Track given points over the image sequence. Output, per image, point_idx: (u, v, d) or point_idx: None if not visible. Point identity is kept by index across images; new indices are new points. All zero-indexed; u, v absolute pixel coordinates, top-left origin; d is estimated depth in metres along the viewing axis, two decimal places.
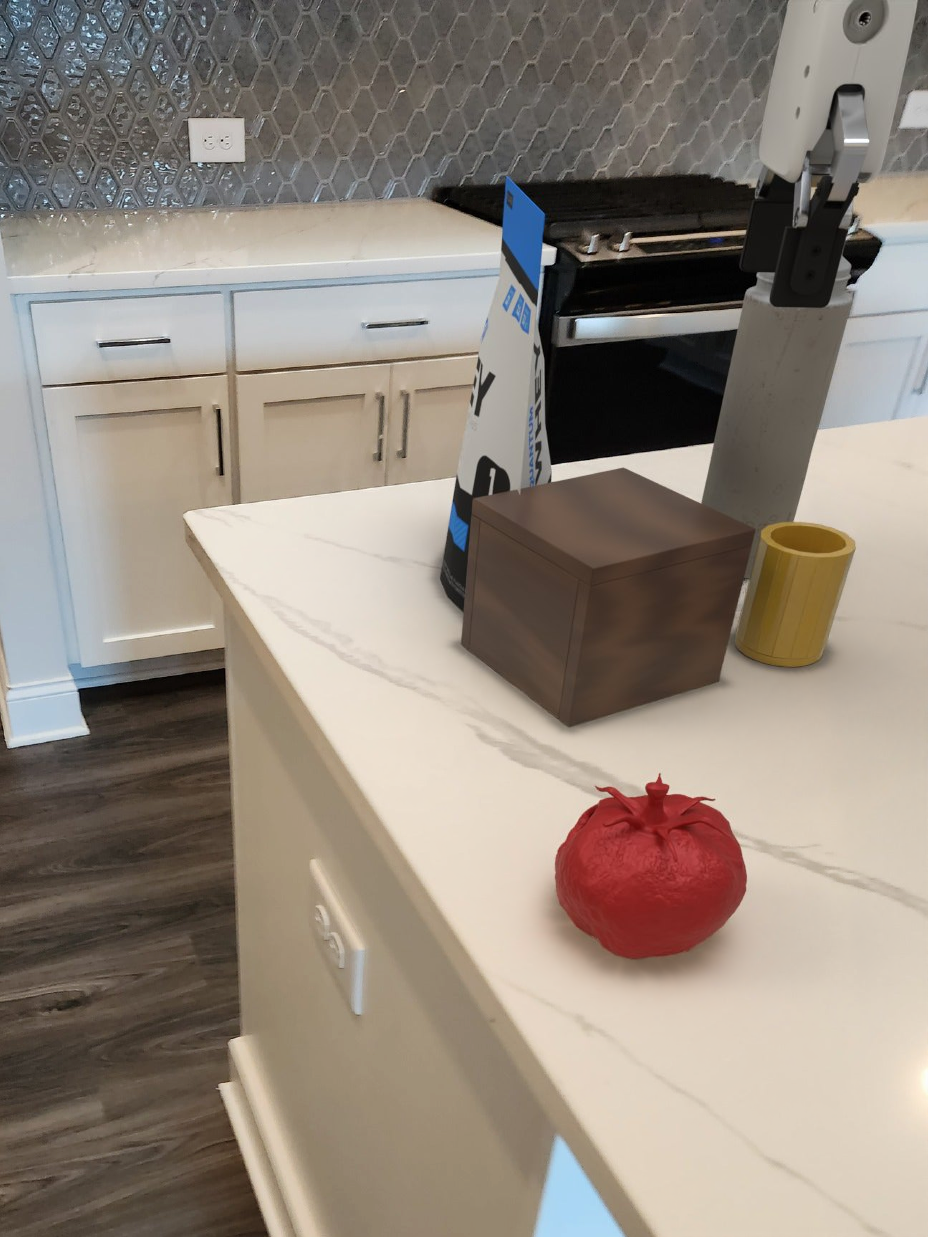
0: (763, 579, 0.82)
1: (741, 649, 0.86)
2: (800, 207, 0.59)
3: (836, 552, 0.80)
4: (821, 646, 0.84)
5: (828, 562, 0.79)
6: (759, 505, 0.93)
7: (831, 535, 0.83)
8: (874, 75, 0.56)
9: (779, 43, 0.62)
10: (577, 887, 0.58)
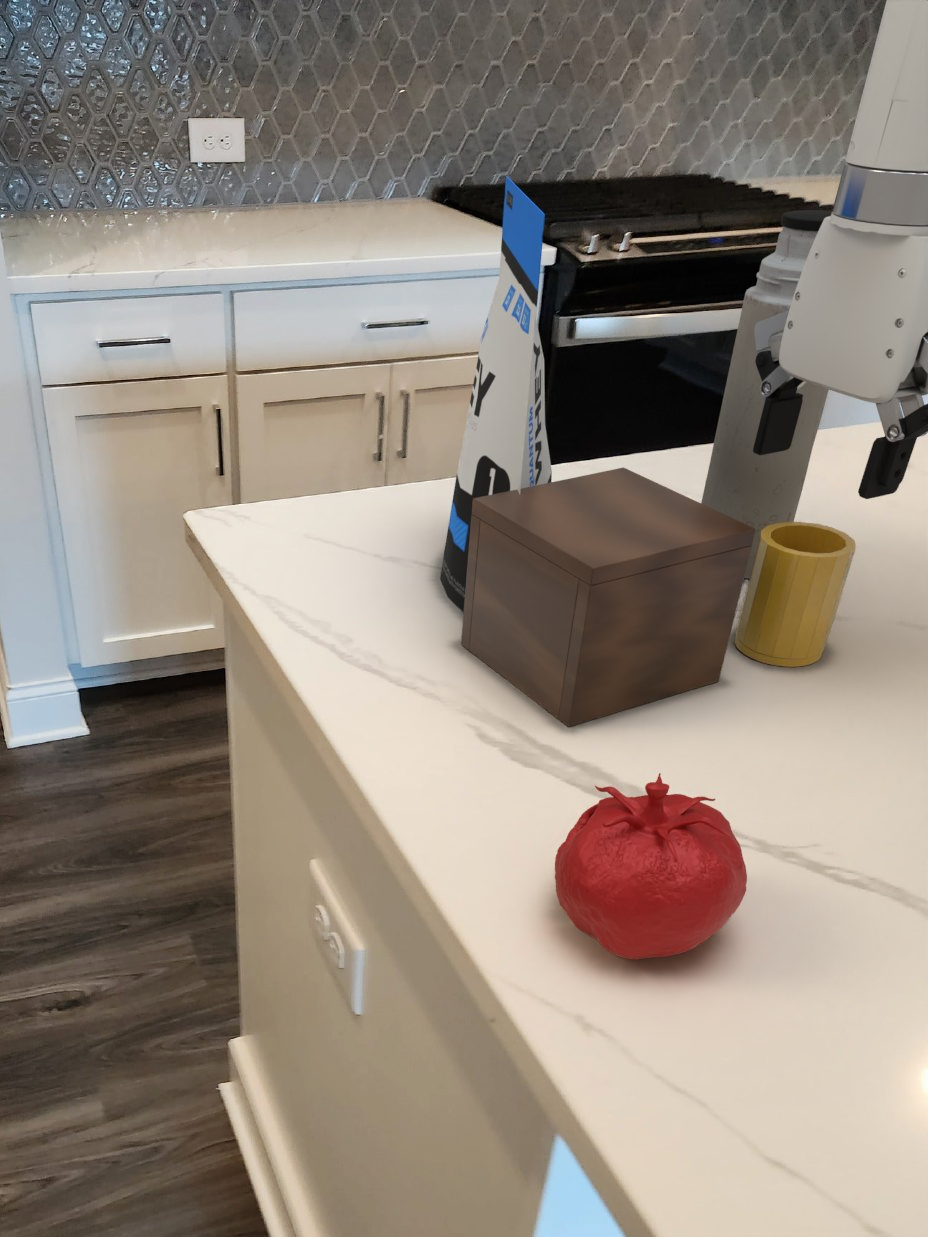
0: (763, 579, 0.82)
1: (741, 649, 0.86)
2: (899, 426, 0.71)
3: (836, 552, 0.80)
4: (821, 646, 0.84)
5: (828, 562, 0.79)
6: (759, 505, 0.93)
7: (831, 535, 0.83)
8: None
9: (808, 283, 0.73)
10: (577, 887, 0.58)
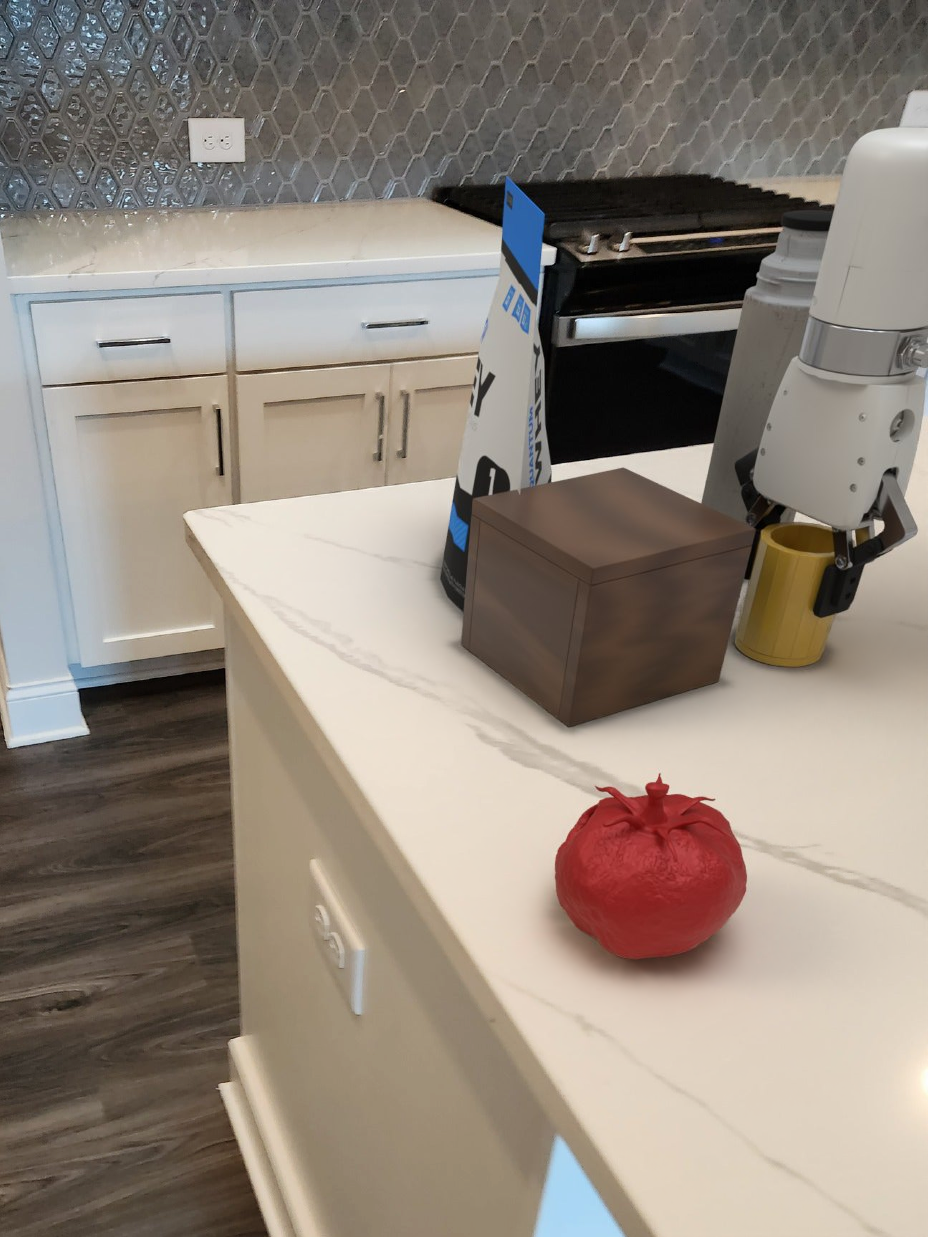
0: (763, 579, 0.82)
1: (741, 649, 0.86)
2: (848, 558, 0.78)
3: None
4: (821, 646, 0.84)
5: (828, 562, 0.79)
6: None
7: (831, 535, 0.83)
8: (904, 459, 0.74)
9: (778, 416, 0.78)
10: (577, 887, 0.58)
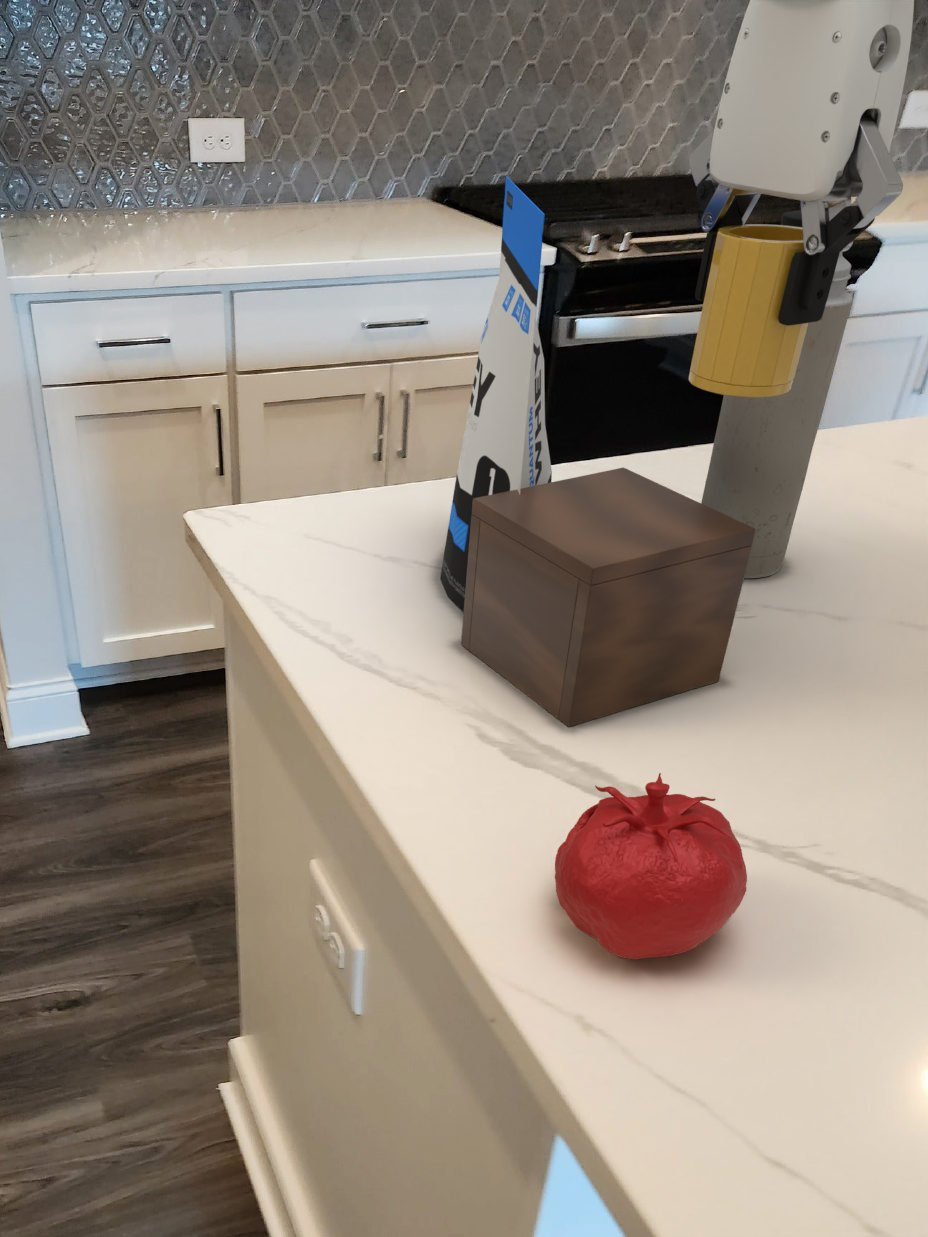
0: (720, 283, 0.69)
1: (696, 382, 0.73)
2: (820, 237, 0.64)
3: None
4: (789, 372, 0.71)
5: (796, 250, 0.66)
6: (759, 505, 0.93)
7: (801, 234, 0.70)
8: (887, 100, 0.61)
9: (738, 70, 0.65)
10: (577, 887, 0.58)
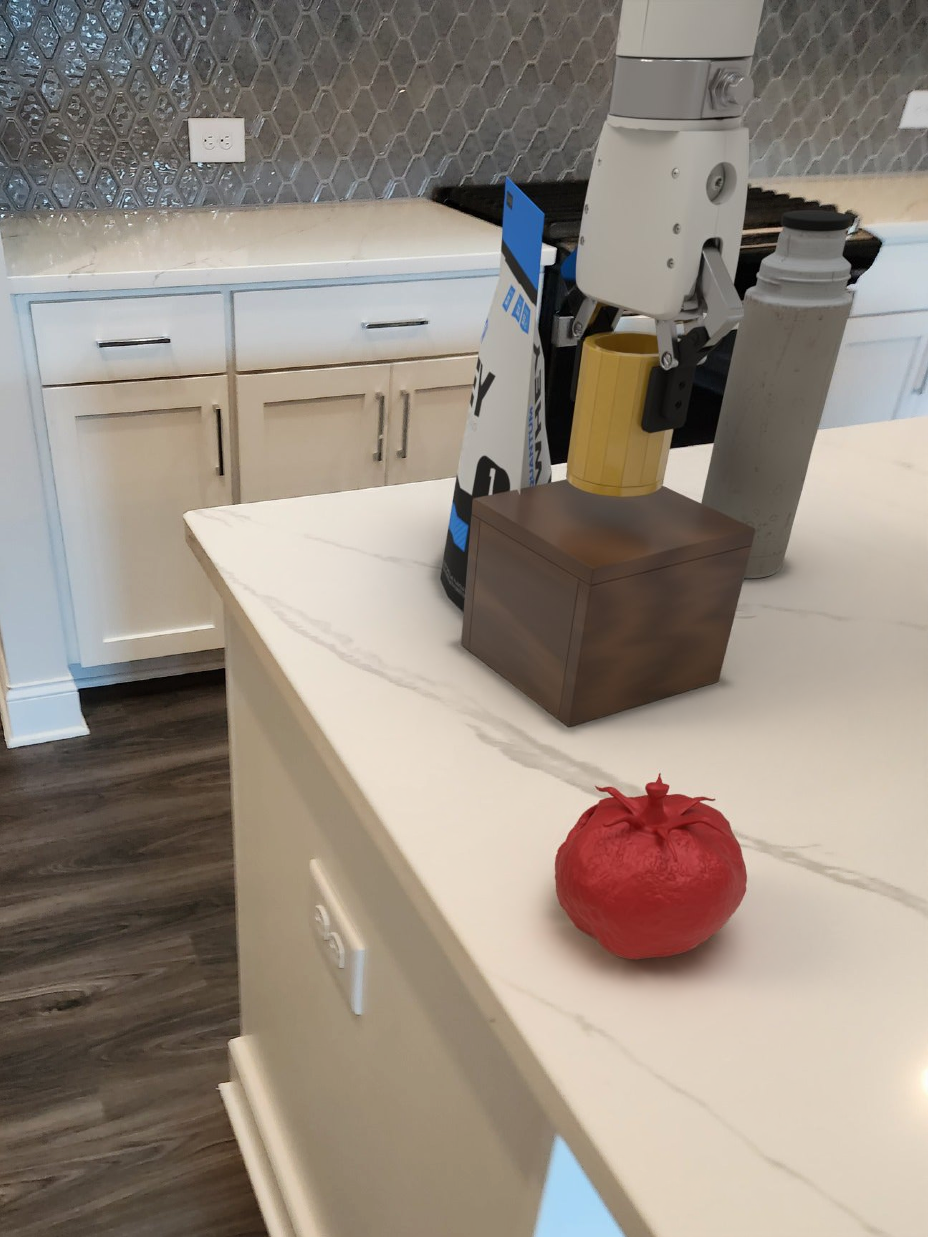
0: (586, 391, 0.72)
1: (571, 480, 0.76)
2: (672, 354, 0.67)
3: None
4: (657, 473, 0.74)
5: (653, 363, 0.69)
6: (759, 505, 0.93)
7: None
8: (728, 229, 0.64)
9: (594, 193, 0.68)
10: (577, 887, 0.58)
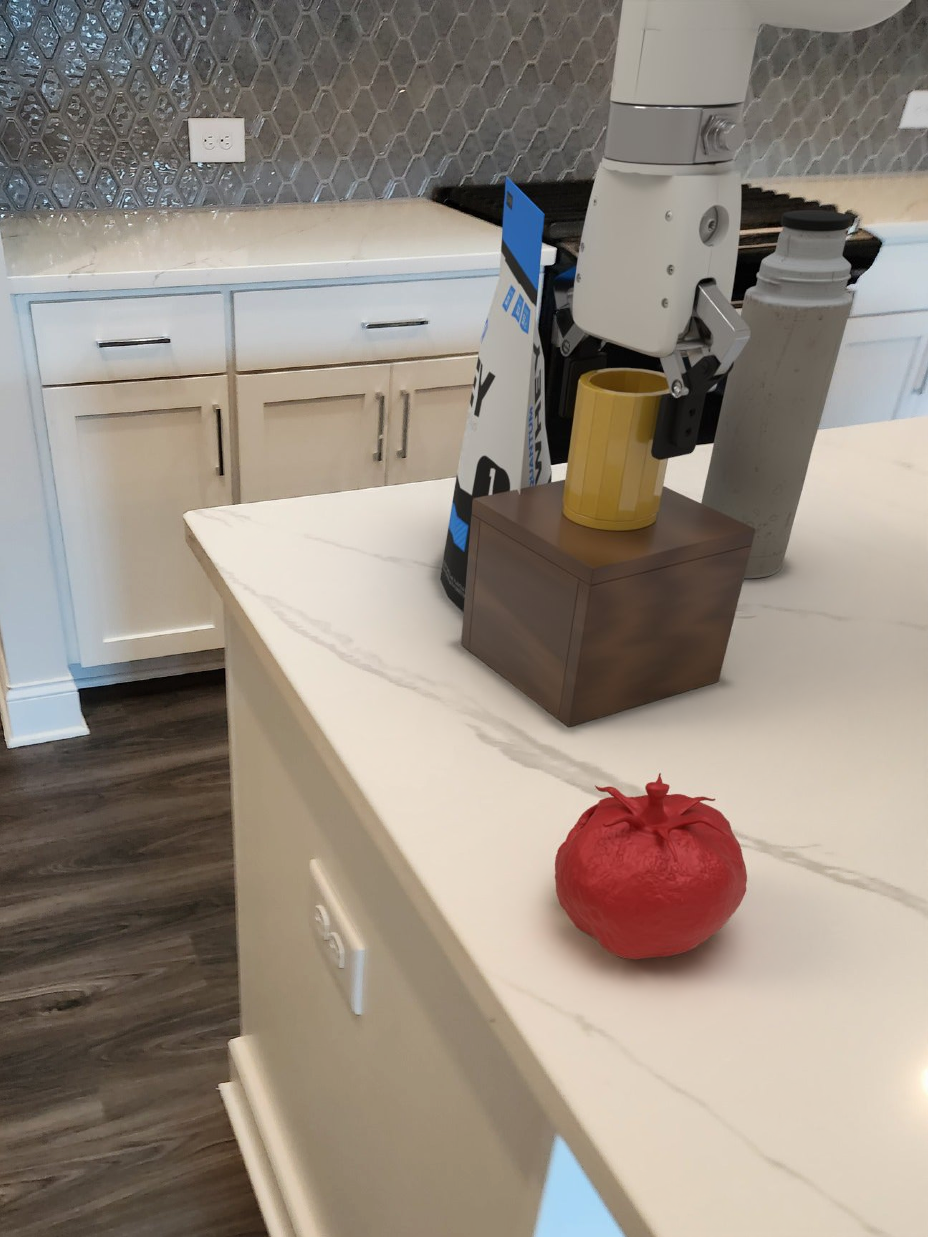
0: (582, 428, 0.73)
1: (567, 514, 0.77)
2: (682, 380, 0.67)
3: (657, 392, 0.71)
4: (651, 507, 0.75)
5: (647, 402, 0.70)
6: (759, 505, 0.93)
7: (659, 380, 0.74)
8: (721, 269, 0.65)
9: (590, 232, 0.69)
10: (577, 887, 0.58)
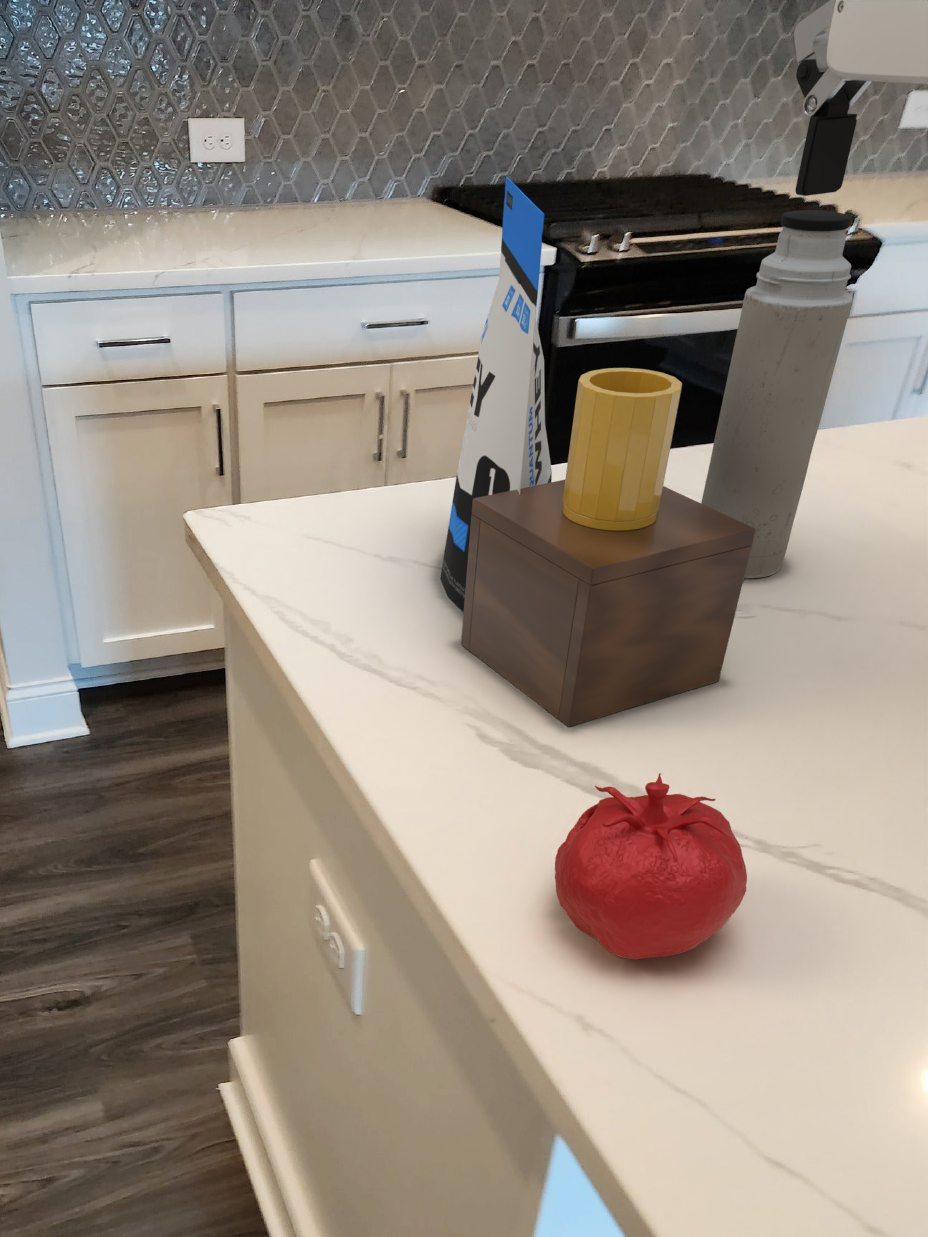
0: (582, 428, 0.73)
1: (567, 514, 0.77)
2: None
3: (657, 392, 0.71)
4: (651, 507, 0.75)
5: (647, 402, 0.70)
6: (759, 505, 0.93)
7: (659, 380, 0.74)
8: None
9: None
10: (577, 887, 0.58)
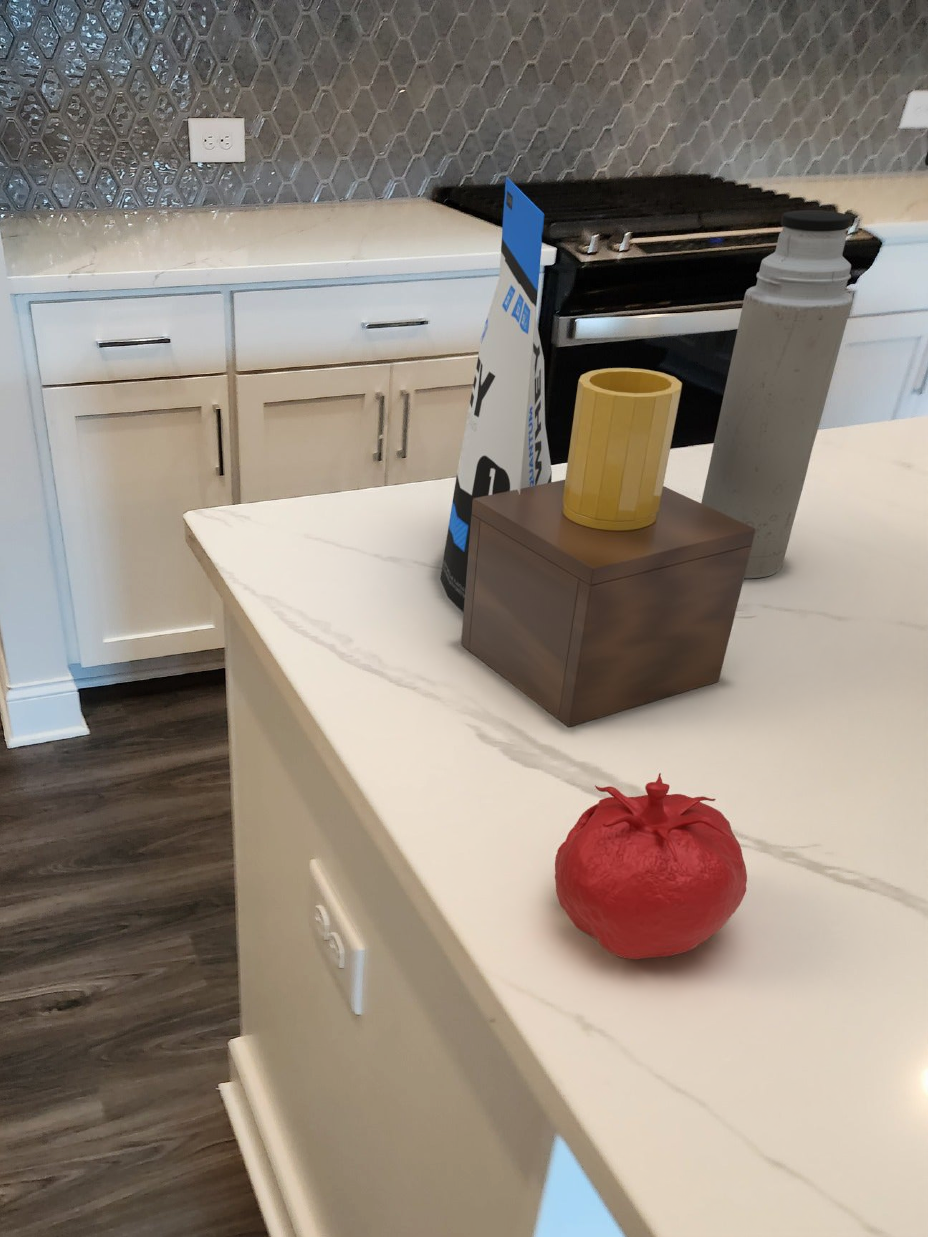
0: (582, 428, 0.73)
1: (567, 514, 0.77)
2: None
3: (657, 392, 0.71)
4: (651, 507, 0.75)
5: (647, 402, 0.70)
6: (759, 505, 0.93)
7: (659, 380, 0.74)
8: None
9: None
10: (577, 887, 0.58)
